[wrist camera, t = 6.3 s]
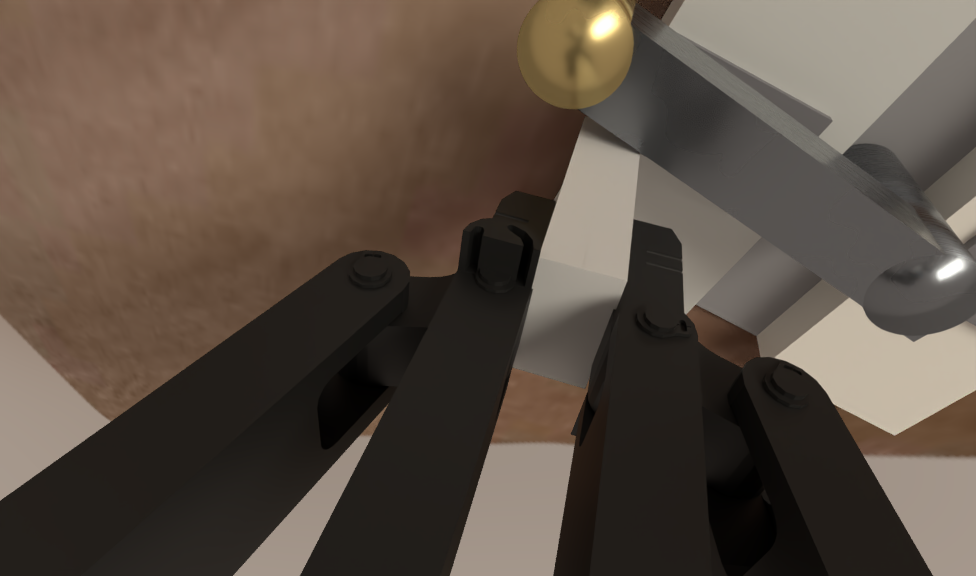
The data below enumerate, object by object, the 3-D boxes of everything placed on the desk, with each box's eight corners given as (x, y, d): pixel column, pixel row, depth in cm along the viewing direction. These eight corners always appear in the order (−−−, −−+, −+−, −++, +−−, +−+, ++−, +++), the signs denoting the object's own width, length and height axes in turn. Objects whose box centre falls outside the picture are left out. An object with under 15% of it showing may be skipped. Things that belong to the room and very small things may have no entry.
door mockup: (541, 221, 22) (527, 260, 20) (805, -224, 13) (833, -239, 11) (879, 396, 23) (900, 452, 21) (1351, 100, 14) (1478, 145, 11)
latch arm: (919, 171, 17) (1021, 299, 12) (849, 224, 18) (914, 355, 14) (594, -73, 15) (558, -41, 10) (547, 7, 17) (496, 68, 12)
